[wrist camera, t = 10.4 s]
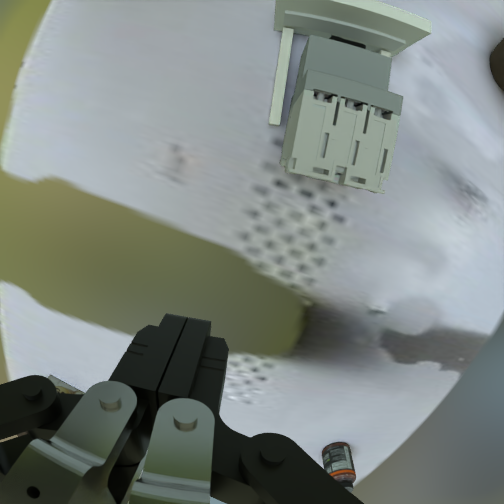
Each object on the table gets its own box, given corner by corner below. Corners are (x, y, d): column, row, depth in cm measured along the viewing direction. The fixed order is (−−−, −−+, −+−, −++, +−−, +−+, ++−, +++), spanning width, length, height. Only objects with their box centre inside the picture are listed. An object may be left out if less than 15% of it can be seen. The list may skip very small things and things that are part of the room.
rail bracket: (278, 1, 29) (282, -43, 18) (393, 28, 29) (430, -1, 18) (259, 123, 34) (256, 114, 24) (380, 147, 34) (420, 150, 24)
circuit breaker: (360, 67, 31) (410, 30, 17) (340, 176, 36) (383, 197, 22) (300, 52, 31) (319, 1, 17) (279, 163, 36) (287, 175, 22)
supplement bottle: (345, 455, 54) (353, 496, 44) (319, 456, 54) (324, 499, 44) (352, 440, 52) (362, 484, 42) (324, 442, 52) (331, 487, 42)
